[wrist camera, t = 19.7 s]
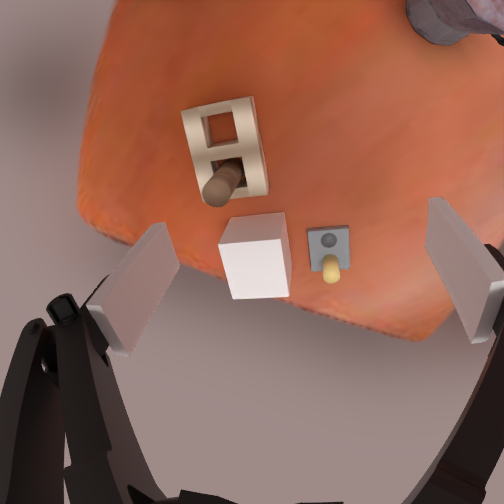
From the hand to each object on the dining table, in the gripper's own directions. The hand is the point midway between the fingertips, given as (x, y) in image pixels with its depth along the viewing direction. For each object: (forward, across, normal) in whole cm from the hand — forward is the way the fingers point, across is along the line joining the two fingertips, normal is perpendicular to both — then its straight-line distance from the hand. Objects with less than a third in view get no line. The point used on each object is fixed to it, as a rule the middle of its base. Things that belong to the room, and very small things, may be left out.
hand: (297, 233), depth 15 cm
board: (+29, +2, -18) cm, 34 cm away
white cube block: (+29, -8, -16) cm, 34 cm away
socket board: (+29, -10, -1) cm, 30 cm away
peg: (+29, -10, -4) cm, 31 cm away
